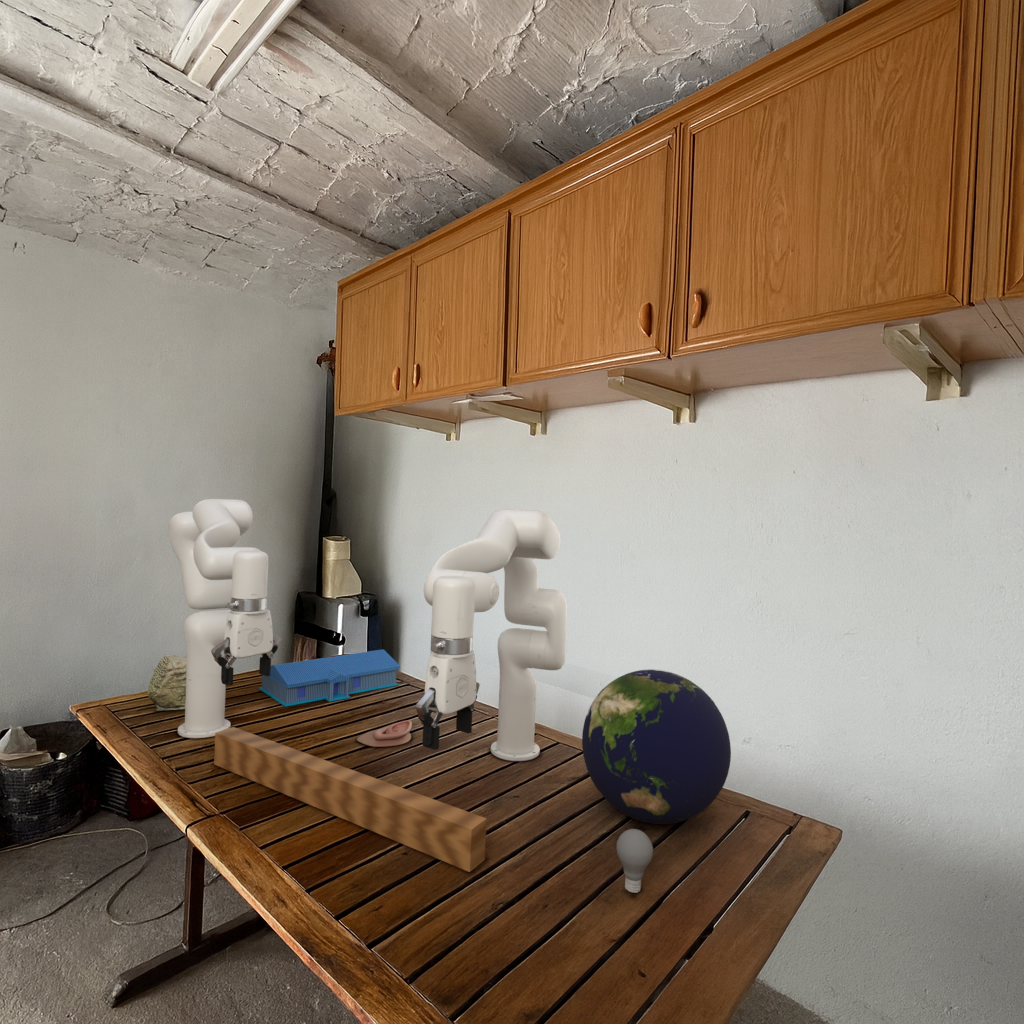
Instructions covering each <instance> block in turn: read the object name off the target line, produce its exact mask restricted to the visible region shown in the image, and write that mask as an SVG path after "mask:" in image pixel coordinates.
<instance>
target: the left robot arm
mask: <svg viewBox="0 0 1024 1024" xmlns="http://www.w3.org/2000/svg"><path fill="white" fill-rule="evenodd" d="M252 510H253V509H252V507H251V506H250V504H249V503H248V502H246V500H243V499H234V498H233V499H232V498H231V499H229V498H205V499H203V500H200V501H199V502H197V503H195V505H194V506H193V508H192V511H183V512H178V513H175V514H174V515H173V516H172V517H171V518H170V520H169V522H168V523H169V524H168V537H169V542H170V545H171V548H172V551H173V552H174V554H175V556H176V558H177V560H178V563H179V565H180V569H181V576H182V584H183V589H184V590H183V591H184V597H185V601H186V603H187V606H188V607H189V608H191V609H192V610H197V612H194V613H192V614H190V615H189V616H187V618H186V619H185V620H184V623H183V635H184V641H185V651H186V652H185V653H186V657H187V668H186V701H185V709H184V722H182V724H180V725H179V726H178V727H177V734H178V735H179V736H180V737H182V738H188V739H207V738H212V737H215V732H219V731H222V730H225V729H228V728H231V727H232V725H231V723H232V722H231V721H230V720H228V719H226V718H225V715H226V692H227V691H226V689H227V686H229V687H231V686H233V684H234V667H232V666H233V664H234V663H235V661H236V660H237V659H245V658H250V657H255V656H260V655H261V656H260V657H259V669H258V671H259V672H258V674H259V675H261V676H262V675H264V676H270V670H271V666H272V659H274V657H275V653H276V652H277V651H278V649H279V646H280V643H281V641H282V637H280V636H278V635H276V634H274V631H273V630H274V629H273V619H272V615H271V610H270V609H268V580H269V555H268V553H267V552H265V551H262V550H260V549H259V548H257V547H253V546H235V545H236V544H237V543H238V541H239V539H240V537H241V536H242V535H244V534H245V533H246V532H247V531H248V530H249V529H250V528H251V526H252V524H253V520H254V519H253V518H254V513H253V511H252ZM198 610H199V611H198ZM200 610H201V611H200ZM202 610H203V611H202ZM222 652H223V654H224V655H222Z"/></svg>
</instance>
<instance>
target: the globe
mask: <svg viewBox="0 0 1024 1024" xmlns="http://www.w3.org/2000/svg"><path fill="white" fill-rule="evenodd" d="M581 748H582V756H583V759H584V764H585V767H586V770H587V772H588V775H589V777H590V779H591V781H592V784H593V785H594V786H595V788H596V789H597V791H598V793H600V795H601V796H602V797H603V798H604V799H605V800H606V801H607V802H608V803H609V805H611V806H612V807H613V808H614V809H616V810H618V812H620V813H622V814H623V815H625V816H627V817H629V818H632V819H634V820H636V821H639V822H643V823H646V824H652V825H672V824H673V825H674V824H678V823H682V822H685V821H688V820H690V819H692V818H694V817H697V816H698V815H699V814H700V813H702V812H704V811H705V810H706V809H707V808H708V807H709V806H710V805H712V803H713V802H714V801H715V800H716V799H717V798H718V796H719V795H720V793H721V791H722V789H723V788H724V786H725V783H726V780H727V778H728V776H729V771H730V767H731V760H732V759H731V758H732V750H731V749H732V747H731V738H730V734H729V731H728V727H727V724H726V721H725V719H724V717H723V715H722V712H721V711H720V709H719V708H718V706H717V704H716V703H715V701H714V700H713V699H712V697H710V696H709V694H708V693H707V692H705V690H704V689H702V688H701V687H700V686H698V685H697V684H696V683H694V682H693V681H692V680H690V679H688V678H686V677H684V676H683V675H680V674H677V673H674V672H672V671H668V670H667V671H666V670H663V669H654V668H653V669H640V670H635V671H630V672H627V673H625V674H623V675H621V676H618V677H617V678H615V679H613V680H612V681H611V682H609V683H608V684H606V685H605V686H604V687H603V688H602V689H601V690H600V691H599V693H598V694H597V695H596V696H595V698H594V699H593V701H592V702H591V704H590V706H589V708H588V710H587V713H586V715H585V719H584V722H583V728H582V737H581Z"/></svg>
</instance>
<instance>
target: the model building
mask: <svg viewBox="0 0 1024 1024" xmlns="http://www.w3.org/2000/svg"><path fill="white" fill-rule="evenodd" d="M400 669H401V665H400V664H399V663H398V662H397V661H396V660H395V659H394V658H393V657H392V656H391V654H389V653H388V652H387V651H386V650H385V649H376V650H368V651H363V652H356V653H349V654H342V655H341V654H340V655H335V656H329V657H328V656H327V657H321V658H315V659H314V658H313V659H307V660H300V661H293V662H287V663H278V664H271V670H270V676H264V675H261V686H260V687H258V690H260V691H261V692H262V693H264V694H265V695H267V696H268V697H270V698H271V699H273V700H274V701H276V702H277V703H279V704H280V705H282V706H283V707H290V706H297V705H302V704H307V703H312V702H317V701H323V700H325V701H327V702H329V703H330V702H335V701H341V700H346V699H347V700H348V699H350V698H351V695H353V694H359V693H364V692H365V693H366V692H369V691H373V690H381V689H385V688H390V687H391V688H392V687H395V686H399V683H398V682H397V670H400Z"/></svg>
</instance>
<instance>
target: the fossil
mask: <svg viewBox="0 0 1024 1024" xmlns="http://www.w3.org/2000/svg"><path fill="white" fill-rule="evenodd" d="M186 668H187V656H183V657H182V656H178V655H175V654H174V655H173V654H165V655H164V656H163V657H162V658H161V659H160V660H159V662H158V663H157V666H156V667H155V669H154V670H153V672H152V675H151V677H150V680H149V684H148V688H147V697H148V699H149V700H150V701H152V703H153V704H154V706H155V711H158V712H159V711H162V712H163V711H177V710H185V701H186Z"/></svg>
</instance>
